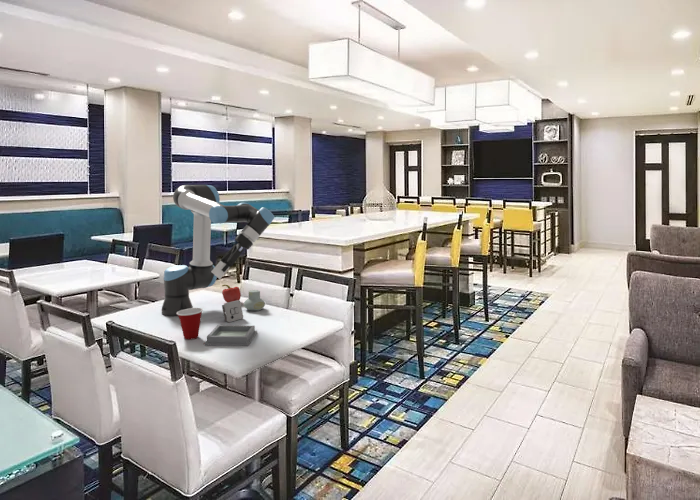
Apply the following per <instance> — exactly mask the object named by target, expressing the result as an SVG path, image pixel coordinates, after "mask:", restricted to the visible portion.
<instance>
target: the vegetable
mask: <svg viewBox="0 0 700 500" xmlns="http://www.w3.org/2000/svg"><path fill="white" fill-rule="evenodd" d="M221 287H226V288H224V289H223V290H222V291H221V293H222V297H223V300H224V301H225V303H228V302H232V301H237V300H240V299H241V297H242V296H241V295H242V294H241V288H240V287H238V286H234V287H230V285H228V284H222V285H221ZM240 301H241V300H240Z"/></svg>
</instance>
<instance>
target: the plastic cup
mask: <svg viewBox="0 0 700 500" xmlns="http://www.w3.org/2000/svg"><path fill="white" fill-rule="evenodd" d="M203 311H204V310H203V308H201V307H193V308H189V309H184V310H180V311H178V312H177V313H176V314H177V315H178V319H179V322H180V323H179V324H180V326H181V330H182V336H183V339H185V340H195V339H197V338H198V337H199V333H200V328H201V320H202V319H201V318H202V313H203Z"/></svg>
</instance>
